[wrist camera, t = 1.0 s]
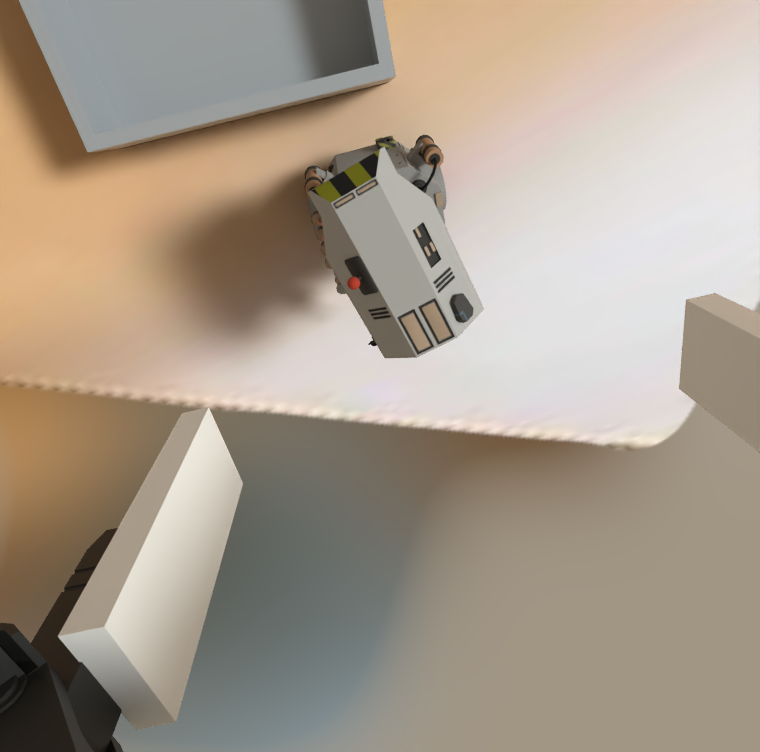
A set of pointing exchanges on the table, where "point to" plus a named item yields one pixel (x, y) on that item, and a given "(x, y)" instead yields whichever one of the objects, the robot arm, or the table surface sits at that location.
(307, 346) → the table surface
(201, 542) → the robot arm
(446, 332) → the figurine
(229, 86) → the bin
